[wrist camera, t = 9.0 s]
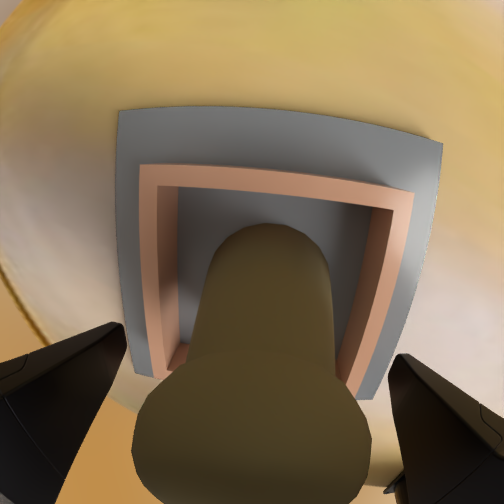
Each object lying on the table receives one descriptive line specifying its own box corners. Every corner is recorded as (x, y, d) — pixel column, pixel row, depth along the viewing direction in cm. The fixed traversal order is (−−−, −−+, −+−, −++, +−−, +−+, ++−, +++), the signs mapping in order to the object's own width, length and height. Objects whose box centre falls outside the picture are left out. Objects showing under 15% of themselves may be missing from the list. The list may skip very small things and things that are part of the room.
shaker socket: (369, 391, 17) (380, 426, 14) (139, 365, 18) (120, 397, 14) (435, 143, 12) (471, 143, 8) (126, 112, 12) (90, 104, 9)
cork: (183, 273, 14) (52, 458, 4) (278, 195, 12) (275, 379, 2) (259, 353, 15) (234, 548, 5) (353, 292, 14) (436, 500, 3)
